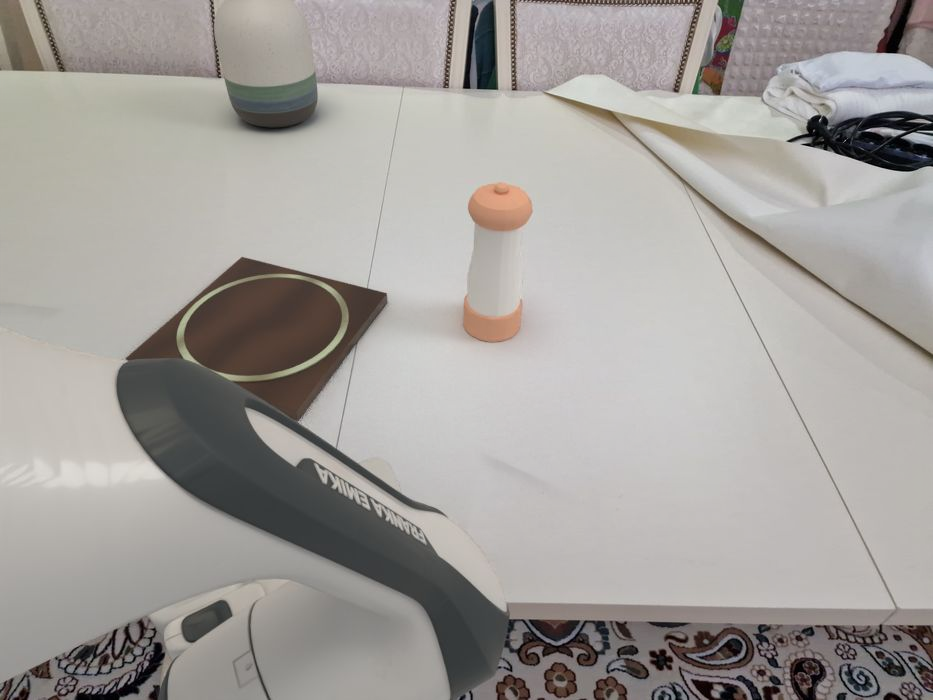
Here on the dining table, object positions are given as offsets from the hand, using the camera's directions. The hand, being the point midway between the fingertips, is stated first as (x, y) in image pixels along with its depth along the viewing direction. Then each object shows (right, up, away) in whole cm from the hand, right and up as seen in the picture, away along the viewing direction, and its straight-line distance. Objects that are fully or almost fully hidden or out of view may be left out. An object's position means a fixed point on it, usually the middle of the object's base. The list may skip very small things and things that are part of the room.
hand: (255, 468), depth 52 cm
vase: (-20, +57, +71) cm, 93 cm away
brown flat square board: (-6, +12, +23) cm, 27 cm away
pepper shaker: (+21, +13, +25) cm, 36 cm away
